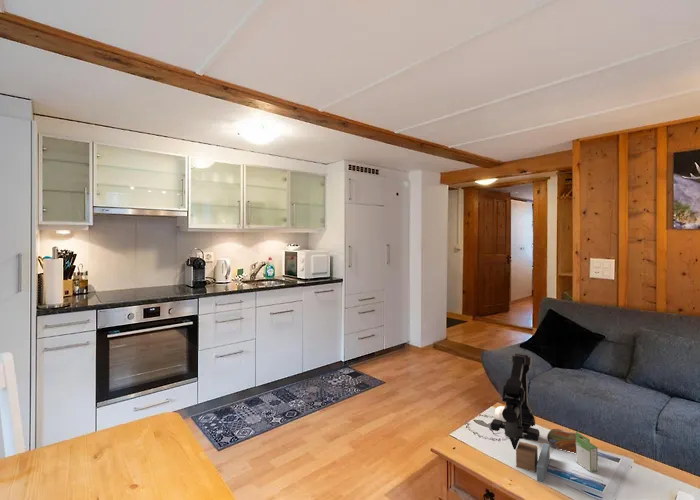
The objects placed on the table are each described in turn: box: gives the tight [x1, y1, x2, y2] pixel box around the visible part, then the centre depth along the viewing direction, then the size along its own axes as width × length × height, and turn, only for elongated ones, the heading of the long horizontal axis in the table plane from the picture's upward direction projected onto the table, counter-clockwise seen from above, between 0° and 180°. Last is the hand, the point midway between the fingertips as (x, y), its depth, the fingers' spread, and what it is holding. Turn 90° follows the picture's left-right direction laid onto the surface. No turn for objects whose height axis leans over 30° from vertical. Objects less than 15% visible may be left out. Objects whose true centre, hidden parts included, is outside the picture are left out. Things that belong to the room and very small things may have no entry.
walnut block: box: [515, 441, 539, 473], centre depth 153 cm, size 8×7×7 cm
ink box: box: [575, 431, 599, 472], centre depth 151 cm, size 7×4×13 cm, turn 12°
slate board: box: [536, 442, 551, 484], centre depth 150 cm, size 20×2×6 cm, turn 145°
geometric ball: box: [494, 405, 506, 423], centre depth 192 cm, size 8×8×8 cm
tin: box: [546, 428, 584, 454], centre depth 163 cm, size 15×3×8 cm, turn 53°
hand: (514, 449), depth 156 cm, fingers closed
